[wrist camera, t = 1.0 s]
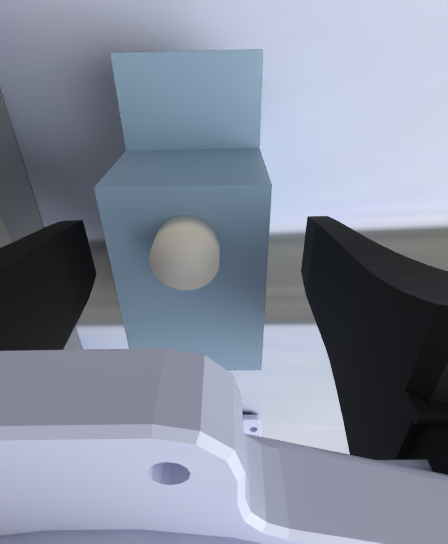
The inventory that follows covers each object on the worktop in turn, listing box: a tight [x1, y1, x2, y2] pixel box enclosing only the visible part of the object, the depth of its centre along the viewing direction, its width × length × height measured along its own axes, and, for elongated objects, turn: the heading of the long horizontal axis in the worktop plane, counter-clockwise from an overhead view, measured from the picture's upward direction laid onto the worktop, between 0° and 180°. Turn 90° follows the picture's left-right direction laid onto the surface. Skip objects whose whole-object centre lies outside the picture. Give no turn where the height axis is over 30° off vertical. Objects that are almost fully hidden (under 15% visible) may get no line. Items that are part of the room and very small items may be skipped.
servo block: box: [94, 49, 272, 370], centre depth 12 cm, size 11×4×7 cm, turn 1°
